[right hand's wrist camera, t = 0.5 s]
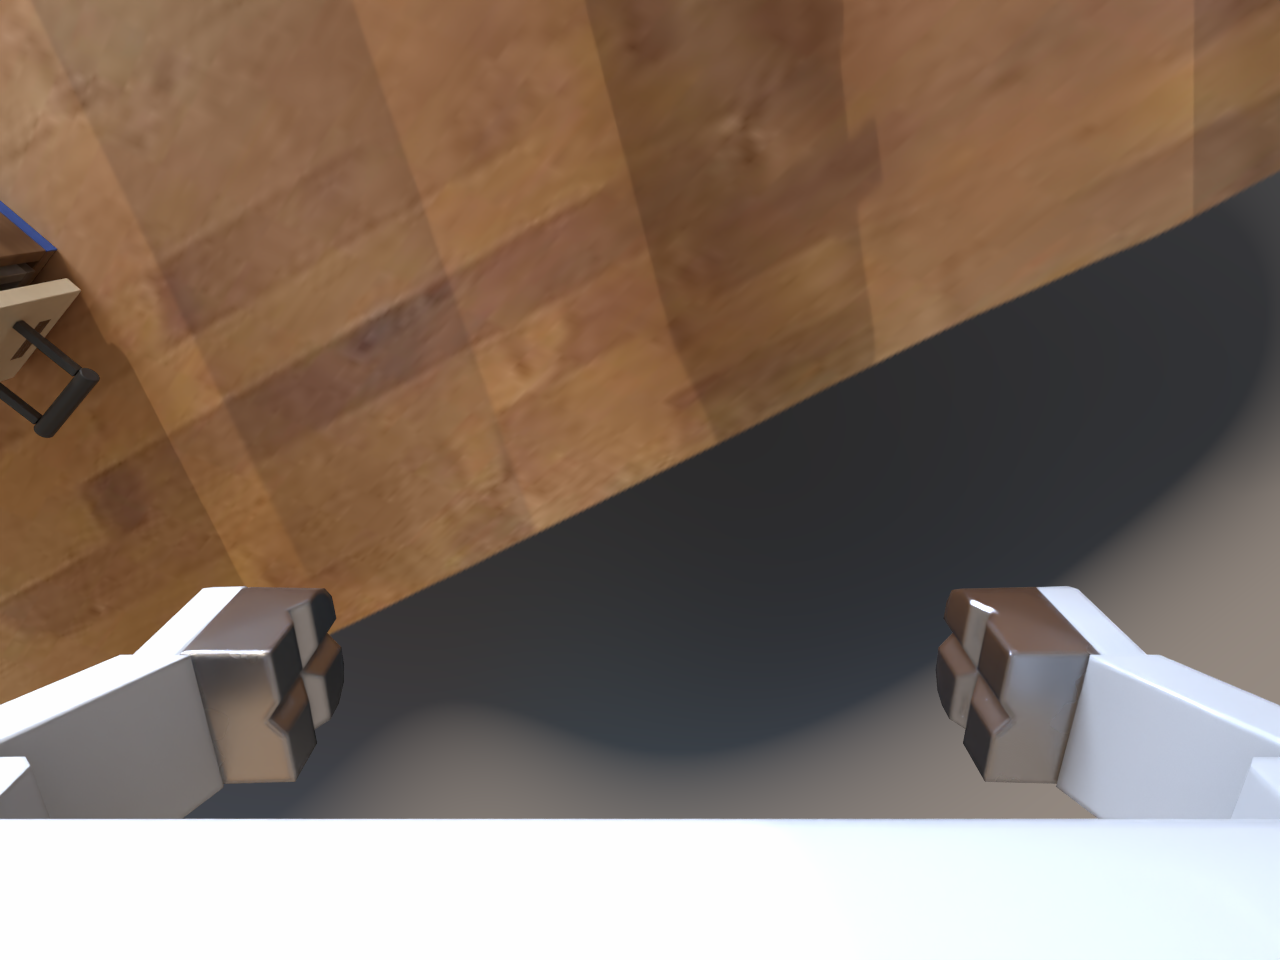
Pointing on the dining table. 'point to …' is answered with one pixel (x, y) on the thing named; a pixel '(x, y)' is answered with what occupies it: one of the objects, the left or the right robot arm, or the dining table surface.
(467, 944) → the right robot arm
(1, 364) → the drawer
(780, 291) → the dining table surface
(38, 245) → the brown storage bin
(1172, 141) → the dining table surface
